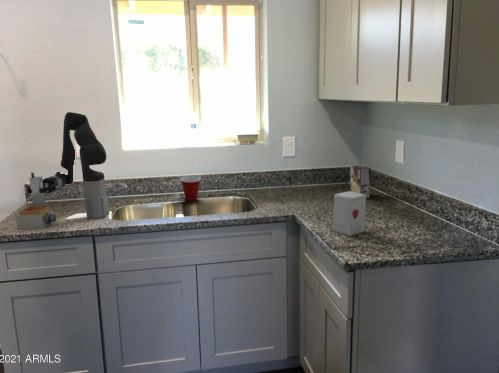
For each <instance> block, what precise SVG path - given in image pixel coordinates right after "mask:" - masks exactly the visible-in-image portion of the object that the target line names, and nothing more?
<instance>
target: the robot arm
mask: <svg viewBox="0 0 499 373" xmlns="http://www.w3.org/2000/svg"><path fill="white" fill-rule="evenodd" d="M82 114H83V113H77V112H71V111H68V112H66V113H65V115H64V119H63V135H62V137H63V138H62V151H61V152H62V154H61V158H62V160H61V159H60V167H61V168H63V169H65V170H66V172H68V175H65V174H60V172H58V171H56V173H55V175H51V176H47V177H45V178H42V181H43V188H41V189H40V193H44V194H51V193H53V192H55V191H58V190H59V189H61V188H63V187H65V186H66V185H65V184H70V183H72V182H73V165H74V160H75V150H76V148H75V149H74V147H75V146H73V145H74V143H73V141H72V139H71V131H74V133H73V135H74V140H75V142H76V144H77V145H78V146H79V152H78V153H79V159H80V166H81V172H82V173H81V174H82V182H83V191H84V192H83V193H84V201H85V202H84V203H85V212H86V218H88V219H92V220H93V219H95V220H96V219H102V218H107V216H109V215H110V207H109V196H108V194H107V192H106V191H107V190H106V181H105V180H106V179H105V174H104V172H101V171H98V170H94V169H92V168H91V167H90V166H96V165H98V166H99V165H103V164H104V163H105V162H106V161H107V152H106V149H105V147H104V145H103V144H102V143H101V142H100V140H98V138H97V136H96V135H95V132H94V131H93V129H92V127H91V126H90V123H89V120H88V117H87V116H86V114H83V115H82ZM26 188H27V189H26V192H27V194H31V188H30V185H28V186H27V187H26Z"/></svg>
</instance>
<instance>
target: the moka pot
mask: <svg viewBox="0 0 499 373" xmlns="http://www.w3.org/2000/svg"><path fill="white" fill-rule="evenodd" d="M28 180H29V186H30V188H31V193H30V194H31V195H30V196H31V203H32V206H47V205H46V198H45V192H44V193H40V189H41V188H43V181H42V180H43V176H35V172H30V177H29V179H28Z"/></svg>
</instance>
